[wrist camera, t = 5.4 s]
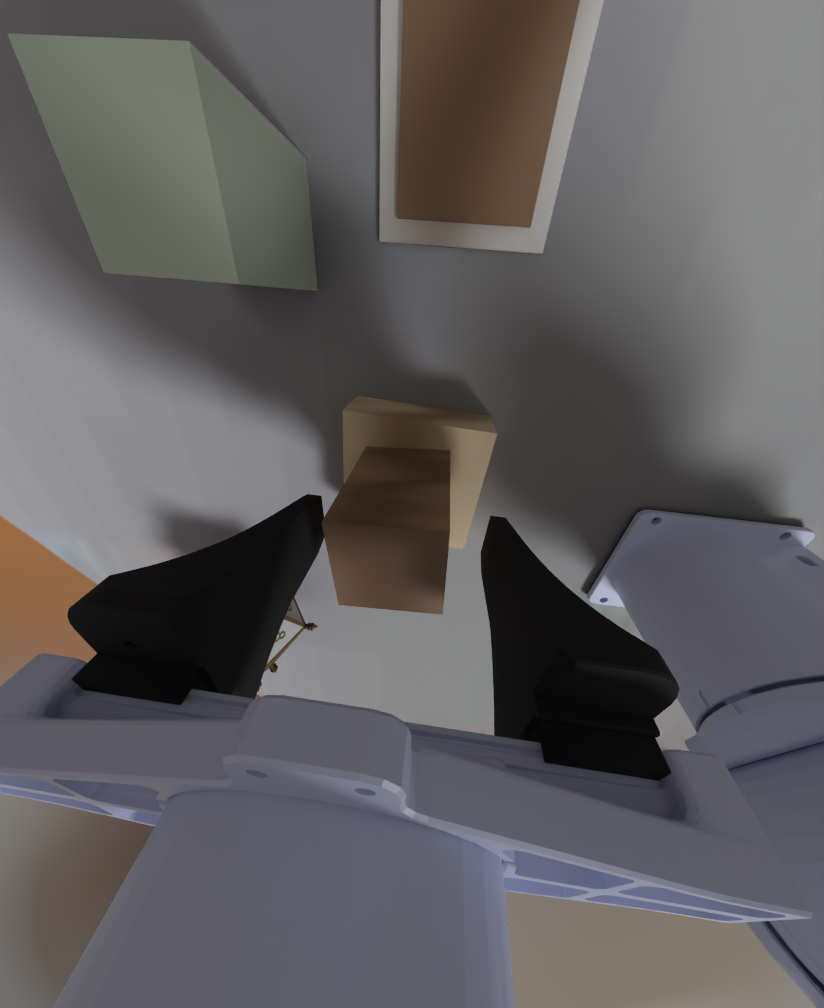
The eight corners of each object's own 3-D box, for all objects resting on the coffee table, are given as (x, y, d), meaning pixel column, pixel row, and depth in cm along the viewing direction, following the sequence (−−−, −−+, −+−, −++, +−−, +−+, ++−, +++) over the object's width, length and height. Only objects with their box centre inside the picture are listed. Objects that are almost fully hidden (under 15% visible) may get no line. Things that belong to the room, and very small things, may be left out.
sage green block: (306, 158, 11) (188, 40, 6) (317, 291, 13) (239, 284, 8) (202, 151, 11) (6, 32, 6) (230, 283, 13) (103, 273, 9)
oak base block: (490, 413, 16) (497, 433, 13) (462, 518, 20) (463, 549, 17) (359, 393, 16) (342, 410, 13) (357, 501, 20) (344, 529, 17)
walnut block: (450, 450, 14) (450, 531, 9) (445, 519, 16) (442, 614, 11) (366, 446, 14) (321, 522, 9) (372, 514, 17) (338, 604, 12)
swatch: (614, -50, 8) (621, -65, 8) (541, 254, 12) (543, 252, 11) (382, -56, 8) (380, -70, 8) (380, 242, 12) (378, 240, 12)
